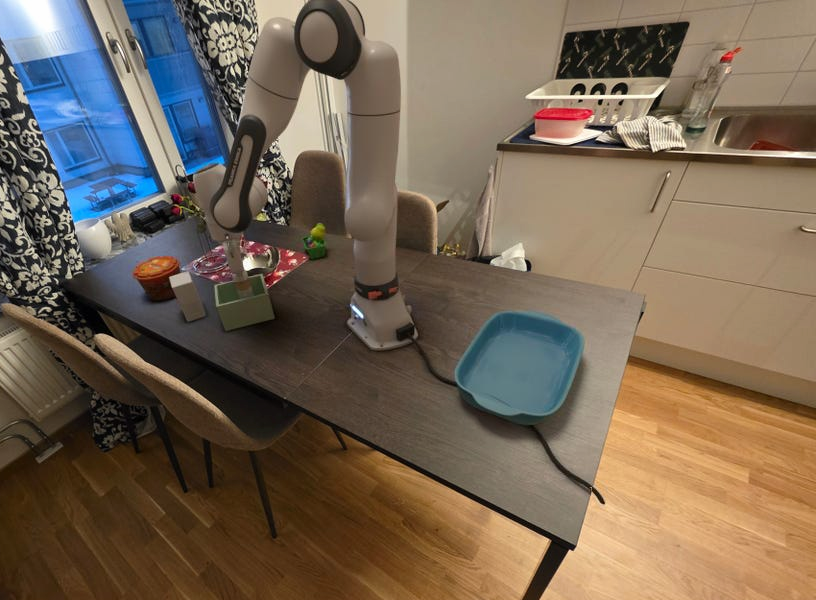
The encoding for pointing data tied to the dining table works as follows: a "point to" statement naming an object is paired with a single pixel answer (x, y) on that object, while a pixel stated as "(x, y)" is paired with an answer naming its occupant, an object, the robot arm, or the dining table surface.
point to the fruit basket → (316, 242)
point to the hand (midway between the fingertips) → (239, 273)
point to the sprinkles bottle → (243, 286)
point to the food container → (157, 276)
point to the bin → (243, 304)
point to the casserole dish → (520, 366)
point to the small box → (187, 296)
